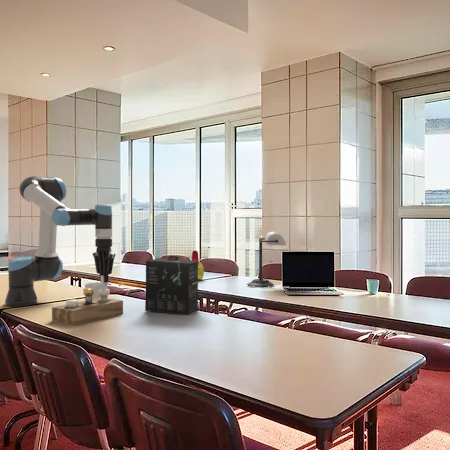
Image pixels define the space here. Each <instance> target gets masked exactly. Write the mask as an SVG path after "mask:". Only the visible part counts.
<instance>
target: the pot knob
mask: <svg viewBox="0 0 450 450" xmlns="http://www.w3.org/2000/svg"><path fill="white" fill-rule="evenodd" d="M82 294H83V295H84V301H85V305H92V295H93V294H94V289H93V288H85V287H84V288H83V293H82Z"/></svg>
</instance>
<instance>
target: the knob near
mask: <svg viewBox="0 0 450 450" xmlns="http://www.w3.org/2000/svg"><path fill="white" fill-rule="evenodd" d="M78 302H79V300H78V299H67V300H66V301H65V304H66V307H68V308H70V309H72V308H76V307H77V306H78Z"/></svg>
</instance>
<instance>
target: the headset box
mask: <svg viewBox="0 0 450 450" xmlns="http://www.w3.org/2000/svg"><path fill="white" fill-rule="evenodd" d="M198 293H199V279H198V261H192V259H190V260H188V259H179V256H178V255H177V256H175V255H174V256H172V255H169V256H168V258H157V257H156V258H155V259H150V260H146V261H145V299H144V300H145V305H144V306H145V308H144V309H145V310H144V311H145V312H152V313H153V312H154V313H165V314H176V315H183V316H189V315H192V314H193V313H195V312H197V311H198V309H199V306H198V305H199V304H198V303H199V294H198ZM194 311H195V312H194ZM192 312H193V313H192Z"/></svg>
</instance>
